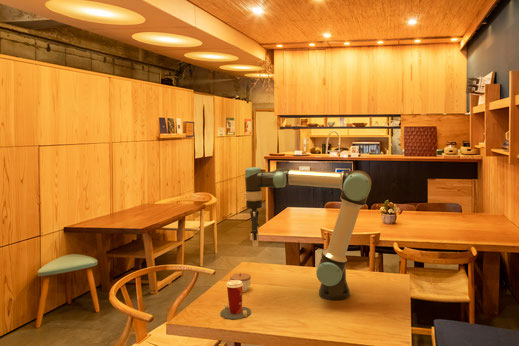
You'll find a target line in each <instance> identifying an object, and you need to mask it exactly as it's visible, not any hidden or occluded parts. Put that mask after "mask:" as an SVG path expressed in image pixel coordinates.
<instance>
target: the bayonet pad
mask: <svg viewBox="0 0 519 346" xmlns="http://www.w3.org/2000/svg"><path fill="white" fill-rule="evenodd" d="M251 314H252V310H251V309H250V308H249V307H246V306H242V312H241V313H239V314H231V313H230V309H229V303H225V304H224V308H223V309H222V310H221V311H220V316H221V317H222V318H223V319H226V320H233V321H234V320H235V321H236V320H242V319H246V318H248V317H249V316H250V315H251Z"/></svg>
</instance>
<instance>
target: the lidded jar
mask: <svg viewBox="0 0 519 346" xmlns="http://www.w3.org/2000/svg"><path fill="white" fill-rule="evenodd" d="M229 279H230V280H229V281H231V280H240V281H242V283H243V286H242V294H243V293H246V292H247V291H248V290H249V288H250V286H251V282H252V280H251V279H252V275H251V274H249V273H244V272H238V273H233V274H232V275H230V277H229Z"/></svg>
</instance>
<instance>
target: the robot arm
mask: <svg viewBox="0 0 519 346" xmlns="http://www.w3.org/2000/svg"><path fill="white" fill-rule="evenodd" d="M244 171H245V172H244V174H245V175H244V180H245V193H244V196H245V199H246V200H245V201H246V203H245V204H246V205H245V206H246V207H245V208H246V209H249V210H250V209H251V211H250V221H251V231H250V234H251V241H252V242H251V243H252V247H253V248H256V247H257V248H258V247H259V240H260V239H259V238H260V237H259V226H260V223H259V214H260V213H259V210H258V209H261V208H262V207H263V200H262V199H263V198H262V197H263V196H262V195H263V193H262V188H277V189H279V188H284V187H286V185H289V186H290V185H292V186H293V185H294V186H305V187H306V186H307V187H319V188H332V189H340V190H341V194H340V197H339V198H340V200H341V205H340V208H339V212H338V214H337V218H336V221H335V224H334V227H333V231H332V232H331V233H332V234H331V235H330V236H331V237H330V240H329V243H328V245H327V248H325V249H322V250H321V253H320V255H321V257H320V261H319V264H318V266H317V267H316V274H315V275H316V278H317V280H318V281H319V283H320V285H319V289H318V296H319V297H321V298H323V299H324V300H329V301H341V300H345V299H348V298H349V297H350V296H351V291H350V288H349V285H348V282H347V269H346V268H347V265H346V264H347V261H348V259H347V255H346V254H347V251H348V248H349V244H350V242H351V238H352V236H353V233H354V232H353V231H354V230H355V226H356V223H357V220H358V216H359V214H360V210H361V208H364V206H366V204H367V199H368V198H369V194H370V192H371V188H372V182H373V181H372V179H371V177H370V175H369V174H368V173H367V172H366V171H363V170H342V171H341V172H338V171H337V172H335V171H324V170H323V171H321V170H305V169H288V168H287V169H286V168H283V167H279V168H276V169H274V170H272V171H262V170H261V167H259V166H258V167H257V166H254V167H247V168H245V170H244Z"/></svg>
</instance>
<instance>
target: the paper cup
mask: <svg viewBox="0 0 519 346" xmlns="http://www.w3.org/2000/svg"><path fill="white" fill-rule="evenodd" d="M242 286H243V283H242V281H240V280H229V281H227V282H226V286H225V287H226V289H227V290H226V291H227V299H228V305H229V309H230V313H231V314H239V313H241V312H242V307H243V293H242Z"/></svg>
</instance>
